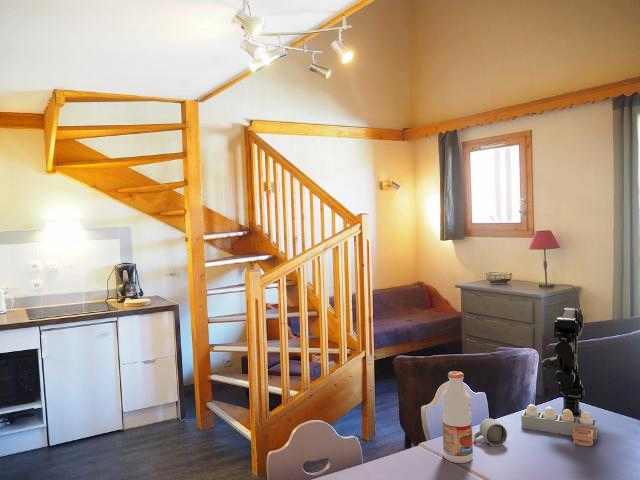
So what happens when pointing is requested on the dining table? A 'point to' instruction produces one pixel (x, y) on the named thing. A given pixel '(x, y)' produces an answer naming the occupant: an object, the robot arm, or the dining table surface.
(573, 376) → the robot arm
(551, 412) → the egg
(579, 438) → the egg cup
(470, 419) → the fruit juice
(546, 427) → the egg carton
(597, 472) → the dining table surface
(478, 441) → the ceramic mug
